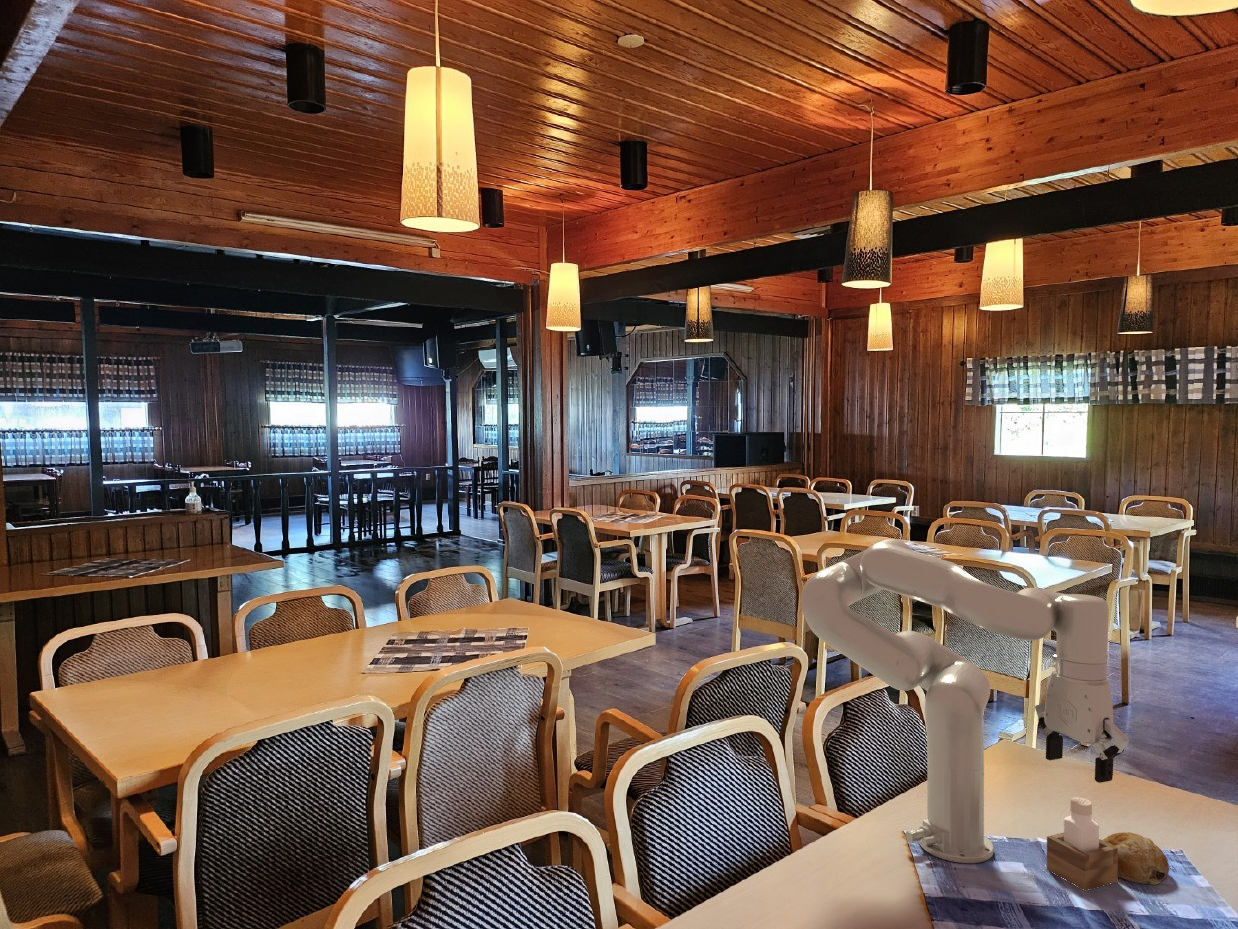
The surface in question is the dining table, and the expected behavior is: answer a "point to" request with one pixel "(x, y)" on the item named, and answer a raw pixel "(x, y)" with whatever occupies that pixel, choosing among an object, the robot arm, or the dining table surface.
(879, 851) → the dining table surface
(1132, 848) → the bread roll
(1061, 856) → the wooden open box
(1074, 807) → the pepper shaker
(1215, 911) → the dining table surface
